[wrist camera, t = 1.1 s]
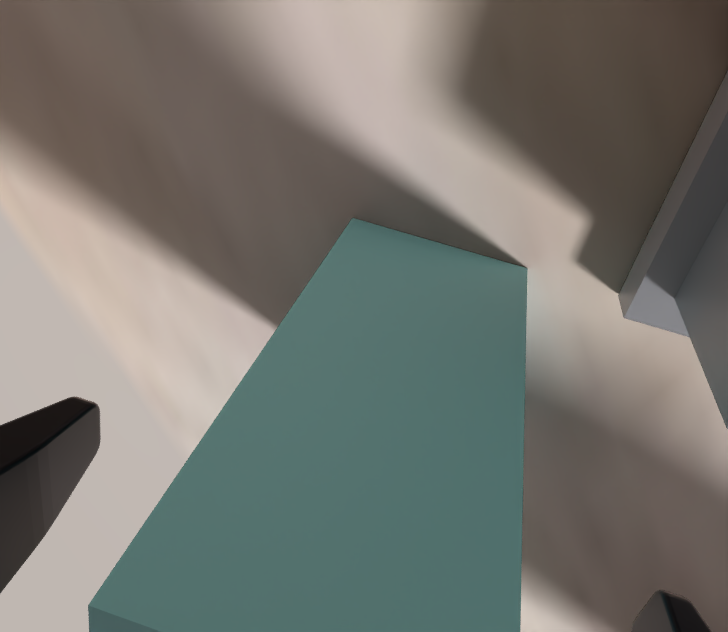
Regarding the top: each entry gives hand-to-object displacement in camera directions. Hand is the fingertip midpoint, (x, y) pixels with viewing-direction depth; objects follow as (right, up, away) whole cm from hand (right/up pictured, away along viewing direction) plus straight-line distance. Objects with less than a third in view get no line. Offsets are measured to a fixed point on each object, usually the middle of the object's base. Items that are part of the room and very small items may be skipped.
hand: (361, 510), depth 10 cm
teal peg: (+1, +3, +5) cm, 6 cm away
